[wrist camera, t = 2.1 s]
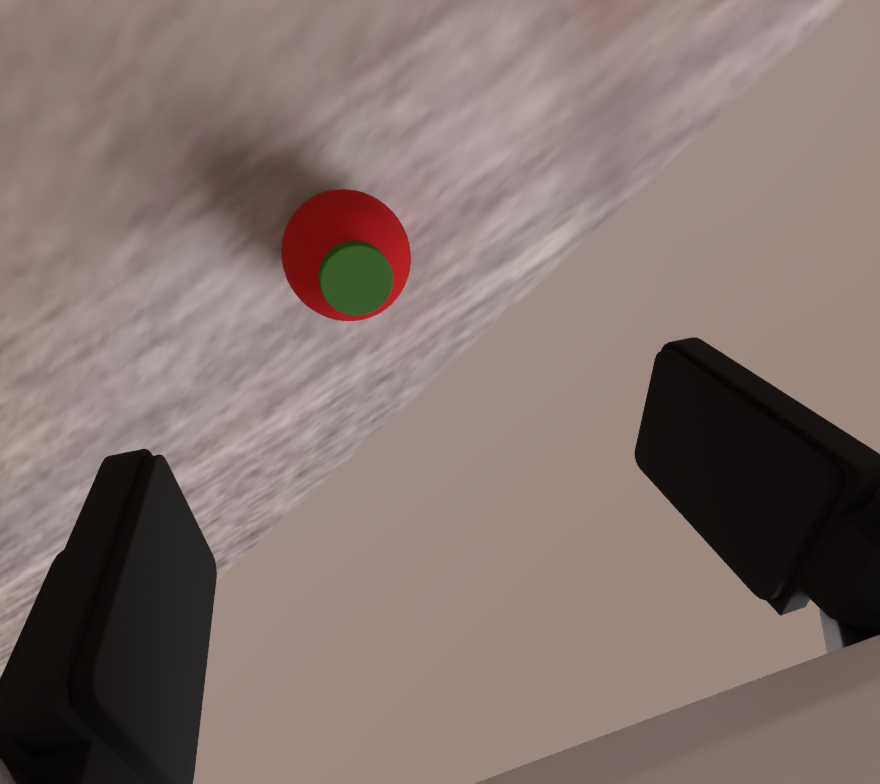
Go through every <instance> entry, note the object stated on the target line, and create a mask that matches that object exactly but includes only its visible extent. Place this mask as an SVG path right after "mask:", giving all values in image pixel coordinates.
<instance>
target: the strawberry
mask: <svg viewBox="0 0 880 784" xmlns="http://www.w3.org/2000/svg"><path fill="white" fill-rule="evenodd" d="M281 256H282V264H283V269H284V272H285V275H286V278H287V280H288V282H289V284H290V286H291V288H292V289H293V291H294V292H295V294H296V295H297V296H298V297H299V298H300V300H301V301H302V302H303V303H305V304H306V305H307V306H308V307H309V308H311V309H312V310H314V311H315V312H317V313H319V314H321V315H323V316H326V317H328V318H331V319H335V320H341V321H357V320H362V319H367V318H369V317H372V316H375V315H377V314H379V313H381V312H382V311H384V310H385V309H386V308H388V307H389V306H390V305H391V304H392V303H393V302H394V301H395V300H396V299H397V298H398V296H399V295H400V293H401V292H402V290H403V288H404V286H405V284H406V281H407V278H408V275H409V271H410V263H411V254H410V246H409V241H408V238H407V235H406V233H405V230H404V228H403V226H402V224H401V223H400V221H399V219H398V218H397V217H396V215H395V214H394V213H393V212H392V211H391V210H390V209H389V208H388V207H387V206H386V205H385V204H383V203H382V202H381V201H379V200H378V199H376V198H374V197H373V196H371V195H368V194H366V193H363V192H359V191H355V190H346V189H340V190H331V191H326V192H323V193H320V194H318V195H316V196H314V197H312V198H310V199H309V200H308V201H306V202H305V203H304V204H303V205H301V206H300V207H299V208H298V209H297V210H296V212H295V213H294V214H293V215H292V217H291V219H290V220H289V222H288V224H287V227H286V229H285V232H284V236H283V240H282V248H281Z"/></svg>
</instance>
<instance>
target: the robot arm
mask: <svg viewBox="0 0 880 784" xmlns="http://www.w3.org/2000/svg"><path fill="white" fill-rule="evenodd" d="M635 459H636V463H637V465H638V466H639V468H640V469H641V470H642V471H643V473H644V474H645V475H646V476H647V477H648V478H649V479H650V480H651V481H652V482H653V483H654V485H655V486H656V487H657V488H658V489H659V490H660V491H661V492H662V493H663V495H664V496H665V497H666V498H667V499H668V500H669V501H670V502H671V503H672V504H673V506H674V507H675V508H676V509H677V510H678V511H679V512H680V513H681V514H682V515H683V517H684V518H685V519H686V520H687V521H688V522H689V523H690V524H691V525H692V526H693V528H694V529H695V530H696V531H697V532H698V533H699V534H700V535H701V536H702V538H704V540H705V541H706V542H707V543H708V544H709V545H710V546H711V547H712V548H713V550H714V551H715V552H716V553H717V554H718V555H719V556H720V557H721V558H722V560H723V561H724V562H725V563H726V564H727V565H728V566H729V567H730V568H731V569H732V570H733V572H734V573H735V574H736V575H737V576H738V577H739V578H740V579H741V580H742V582H743V583H744V584H745V585H746V586H747V587H748V588H749V589H750V590H751V591H752V592H753V593H754V594H755V595H756V596H757V597H759V598H760V599H763V600H766V601H767V602H768V603H769V604H770V605H771V606H772V607H773V608H774V609H775V610H776V611H777V613H778V614H779V615H783V614H786V613H789V612H792V611H795V610H798V609H801V608H804V607H806V605H807V603H808V602H809V600H810V599H811V600H812V601H813V602H814V603H815V604H816V605H817V606H818V607H819V608H820V616H821V621H822V627H823V633H824V638H825V644H826V649H827V654H825V655H823V656H820V657H817V658H815V659H812V660H809V661H806V662H804V663H801V664H798V665H795V666H792V667H790V668H787V669H784V670H781V671H779V672H776V673H773V674H770V675H767V676H765V677H762V678H759V679H757V680H754V681H751V682H748V683H745V684H743V685H740V686H737V687H734V688H732V689H729V690H726V691H724V692H721V693H718V694H715V695H713V696H710V697H707V698H705V699H702V700H699V701H696V702H694V703H691V704H688V705H685V706H683V707H680V708H677V709H675V710H672V711H670V712H666V713H664V714H661V715H658V716H656V717H653V718H650V719H647V720H645V721H642V722H640V723H637V724H634V725H631V726H629V727H626V728H623V729H621V730H618V731H615V732H612V733H610V734H607V735H604V736H601V737H599V738H596V739H593V740H590V741H588V742H585V743H582V744H580V745H577V746H574V747H572V748H569V749H566V750H563V751H561V752H558V753H555V754H553V755H550V756H547V757H544V758H542V759H539V760H536V761H534V762H531V763H528V764H526V765H523V766H520V767H518V768H515V769H512V770H510V771H507V772H504V773H502V774H499V775H496V776H494V777H491V778H488V779H486V780H483V781H480V782H478V783H475V784H880V454H879V453H877V452H876V451H874V450H873V449H871V448H869V447H868V446H866V445H865V444H863V443H862V442H860V441H858V440H857V439H856V438H854V437H852V436H851V435H849V434H848V433H846V432H845V431H843V430H841V429H840V428H838V427H837V426H835V425H834V424H832V423H831V422H829V421H827V420H826V419H824V418H823V417H821V416H819V415H818V414H816V413H815V412H813V411H812V410H810V409H808V408H807V407H805V406H804V405H802V404H801V403H799V402H798V401H796V400H795V399H793V398H791V397H790V396H788V395H787V394H785V393H783V392H782V391H781V390H779V389H777V388H776V387H774V386H773V385H771V384H770V383H768V382H766V381H765V380H763V379H762V378H760V377H759V376H757V375H756V374H754V373H752V372H751V371H749V370H748V369H746V368H745V367H743V366H741V365H740V364H738V363H737V362H735V361H734V360H732V359H731V358H729V357H727V356H726V355H724V354H723V353H721V352H720V351H718V350H717V349H715V348H713V347H712V346H710V345H709V344H707V343H706V342H704V341H702V340H701V339H698V338H688V339H683V340H678V341H673V342H669V343H667V344H665V345H664V346H663V348H662V350H661V352H659V353H658V354H657V355H656V358H655V361H654V366H653V371H652V375H651V380H650V384H649V389H648V393H647V398H646V403H645V407H644V412H643V416H642V421H641V425H640V430H639V435H638V439H637V443H636V448H635ZM216 577H217V571H216V563H215V559H214V556H213V554H212V552H211V550H210V548H209V546H208V544H207V542H206V540H205V538H204V536H203V534H202V532H201V530H200V528H199V526H198V524H197V522H196V520H195V518H194V516H193V514H192V512H191V509H190V507H189V505H188V503H187V501H186V499H185V497H184V495H183V493H182V491H181V489H180V487H179V485H178V483H177V481H176V479H175V477H174V475H173V473H172V471H171V469H170V467H169V465H168V463H167V461H166V459H165V458H164V457H163V456H162V455H155V456H153V455H152V454H151V452H150V451H148V450H147V449H141V450H136V451H131V452H126V453H121V454H116V455H111V456H108V457H106V458H105V459H104V460H103V462H102V464H101V466H100V469H99V471H98V473H97V475H96V478H95V480H94V482H93V485H92V487H91V489H90V491H89V494H88V496H87V498H86V501H85V503H84V505H83V508H82V510H81V512H80V514H79V517H78V519H77V521H76V524H75V526H74V528H73V531H72V533H71V535H70V537H69V540H68V542H67V544H66V547H65V549H64V550H63V551H61V552H60V553H59V554H58V555H57V556H56V558H55V559H54V561H53V563H52V565H51V567H50V569H49V571H48V574H47V576H46V578H45V580H44V582H43V585H42V587H41V589H40V591H39V594H38V596H37V598H36V600H35V603H34V605H33V607H32V609H31V611H30V614H29V616H28V618H27V620H26V623H25V625H24V627H23V629H22V632H21V634H20V636H19V638H18V641H17V643H16V645H15V647H14V649H13V652H12V654H11V656H10V658H9V661H8V663H7V665H6V667H5V670H4V672H3V674H2V676H1V678H0V784H193V778H194V772H195V763H196V753H197V745H198V736H199V728H200V719H201V710H202V701H203V692H204V683H205V674H206V666H207V657H208V648H209V640H210V630H211V622H212V613H213V604H214V595H215V587H216Z"/></svg>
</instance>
